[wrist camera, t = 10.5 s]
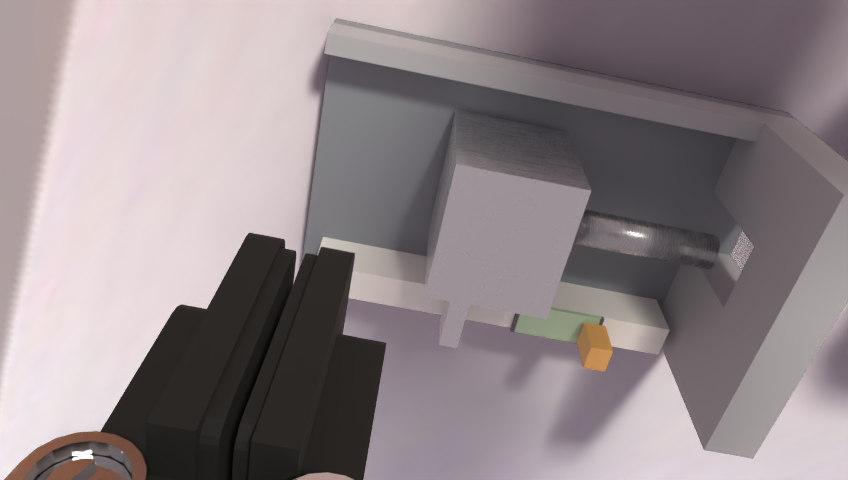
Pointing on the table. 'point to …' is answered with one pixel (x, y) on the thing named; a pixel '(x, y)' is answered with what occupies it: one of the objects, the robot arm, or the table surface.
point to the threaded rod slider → (525, 222)
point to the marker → (594, 347)
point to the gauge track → (610, 193)
